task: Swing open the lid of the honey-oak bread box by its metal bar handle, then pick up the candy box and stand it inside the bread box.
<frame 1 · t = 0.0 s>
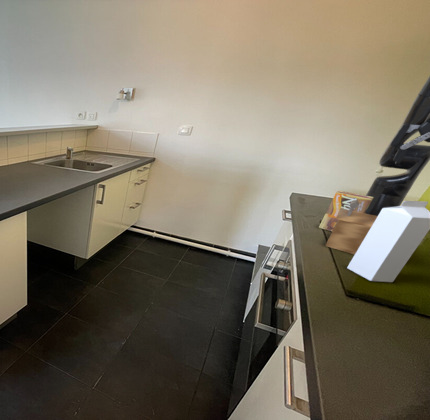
hand: (423, 166, 65), 29 cm above the counter, tool pointing down, fingers open, 8 cm apart
milk: (368, 275, 68), on the counter
candy box: (334, 231, 95), on the counter
lid: (371, 213, 78), point 13 cm above the counter, hinge at 0.0°
bread box: (353, 247, 83), on the counter
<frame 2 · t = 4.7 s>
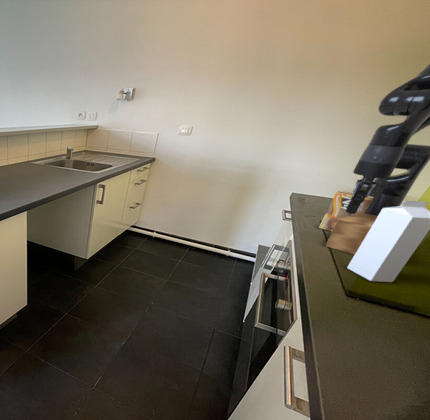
hand: (350, 210, 82), 12 cm above the counter, tool pointing down, fingers closed on lid, 5 cm apart
lid: (371, 213, 78), point 13 cm above the counter, hinge at -0.1°, touching gripper
everything else where it was.
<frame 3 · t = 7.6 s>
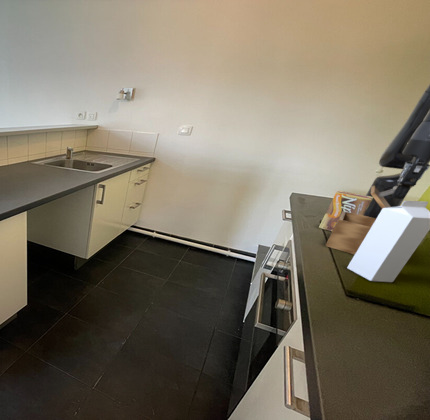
hand: (396, 196, 74), 19 cm above the counter, tool pointing down, fingers closed on lid, 5 cm apart
lid: (398, 205, 74), point 17 cm above the counter, hinge at 47.0°, touching gripper
everything else where it was.
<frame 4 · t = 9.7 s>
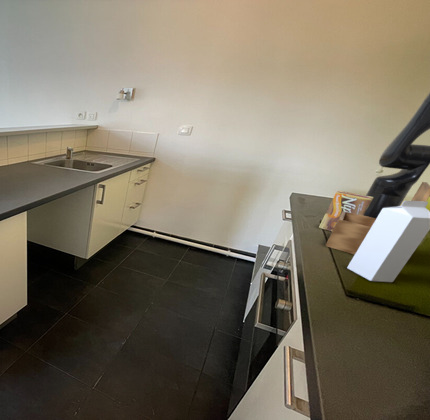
lid: (427, 209, 70), point 17 cm above the counter, hinge at 89.0°, touching gripper
everything else where it was.
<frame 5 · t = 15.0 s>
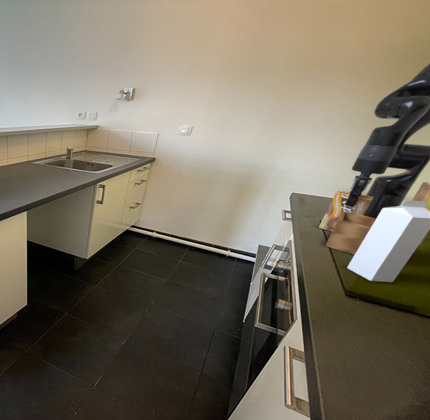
hand: (349, 204, 91), 11 cm above the counter, tool pointing down, fingers closed on candy box, 4 cm apart
candy box: (334, 231, 95), on the counter, touching gripper
lid: (428, 209, 70), point 17 cm above the counter, hinge at 89.7°
everything else where it was.
when the fingers open (12 cm above the counter, at t = 22.2 s): candy box stays where it is, resting on bread box.
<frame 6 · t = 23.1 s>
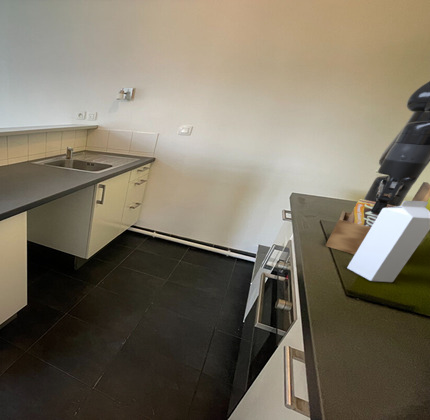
hand: (375, 210, 78), 14 cm above the counter, tool pointing down, fingers open, 8 cm apart
candy box: (355, 246, 83), point 1 cm above the counter, touching bread box
everything else where it was.
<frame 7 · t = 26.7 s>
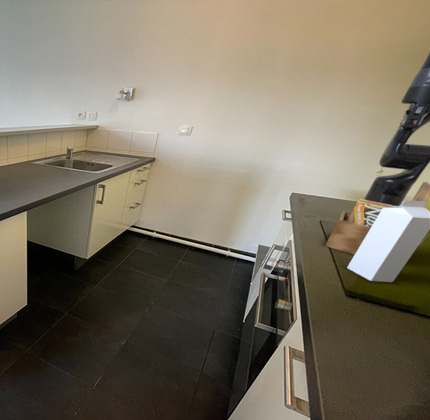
hand: (398, 143, 77), 34 cm above the counter, tool pointing down, fingers open, 8 cm apart
nothing on the counter moved.
at the end: lid at +90° (first picture: +0°); candy box inside the target area in the bread box (0.1 cm from its centre), point 0.6 cm above the bread box's base; the gripper is holding nothing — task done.
